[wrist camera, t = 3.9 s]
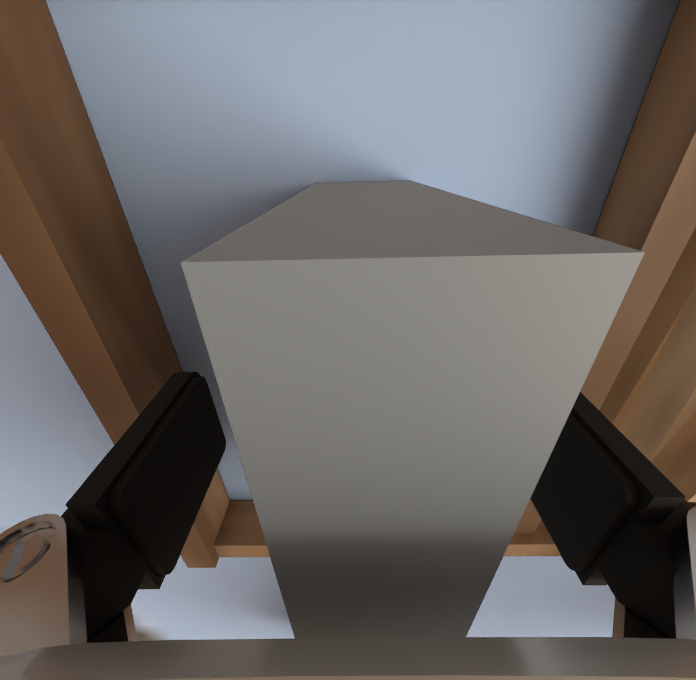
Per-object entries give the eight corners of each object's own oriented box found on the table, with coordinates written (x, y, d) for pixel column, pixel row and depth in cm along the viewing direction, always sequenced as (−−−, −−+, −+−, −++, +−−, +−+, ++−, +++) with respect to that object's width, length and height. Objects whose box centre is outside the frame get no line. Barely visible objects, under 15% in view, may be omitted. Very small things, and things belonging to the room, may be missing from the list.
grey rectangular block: (409, 180, 10) (645, 252, 2) (391, 441, 16) (430, 711, 8) (315, 182, 10) (180, 262, 2) (333, 441, 16) (317, 710, 8)
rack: (1323, -181, 6) (2020, -426, 4) (685, 509, 18) (740, 566, 16) (-66, -117, 7) (-323, -290, 4) (210, 512, 19) (188, 567, 16)
